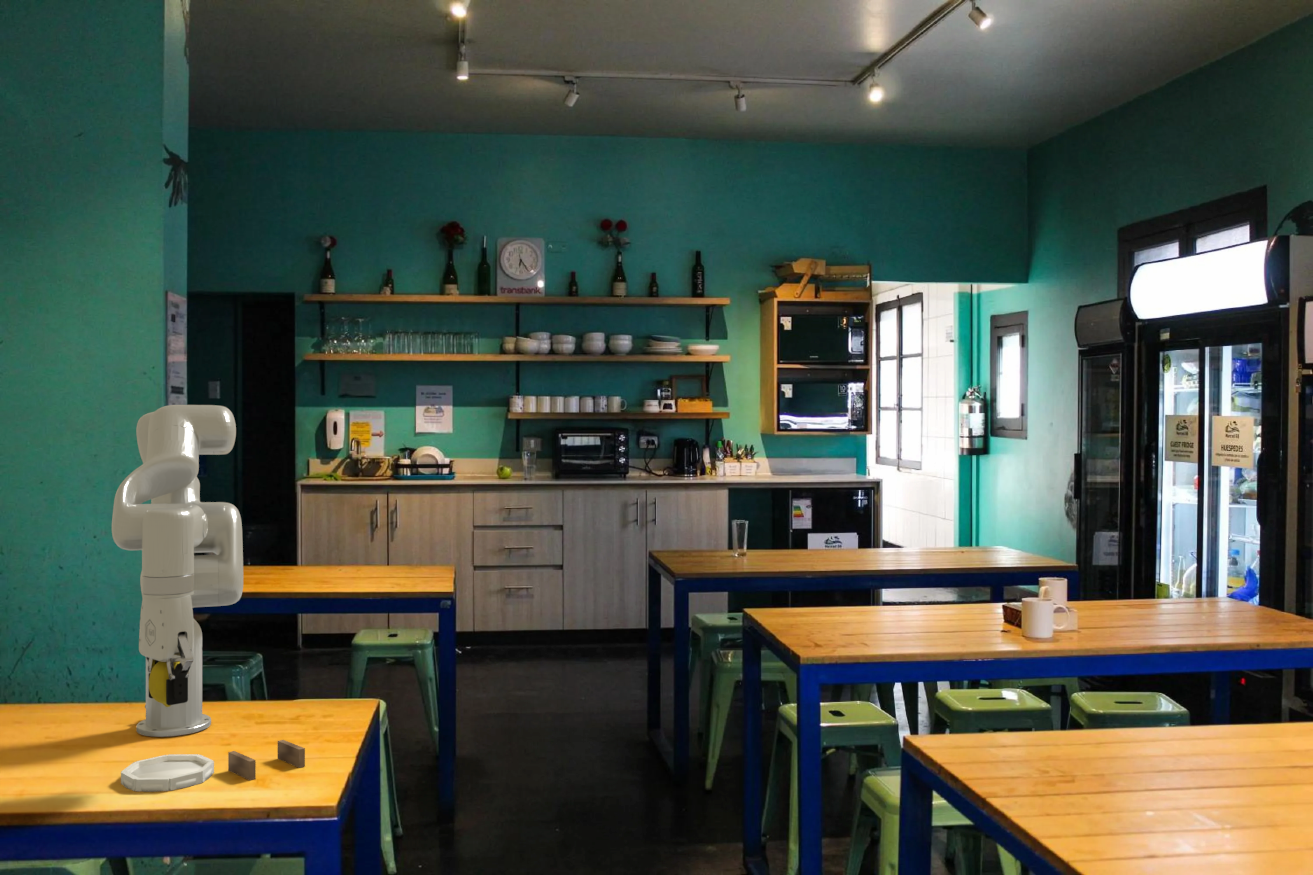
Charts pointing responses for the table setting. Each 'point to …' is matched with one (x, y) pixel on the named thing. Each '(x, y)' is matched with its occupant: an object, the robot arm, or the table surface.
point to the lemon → (159, 682)
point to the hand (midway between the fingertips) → (168, 698)
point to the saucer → (167, 772)
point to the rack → (248, 765)
